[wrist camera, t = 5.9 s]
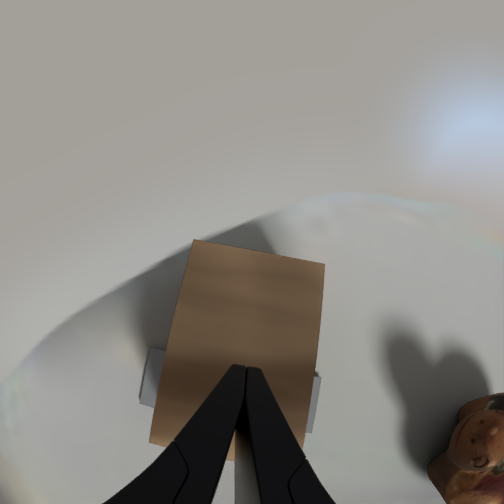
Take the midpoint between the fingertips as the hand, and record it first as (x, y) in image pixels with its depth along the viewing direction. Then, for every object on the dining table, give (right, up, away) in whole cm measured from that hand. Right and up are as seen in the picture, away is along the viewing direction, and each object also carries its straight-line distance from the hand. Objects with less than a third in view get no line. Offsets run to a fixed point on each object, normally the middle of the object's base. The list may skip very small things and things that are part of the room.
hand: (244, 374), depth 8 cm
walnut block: (-1, -5, +3) cm, 6 cm away
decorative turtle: (+17, -12, +6) cm, 22 cm away
